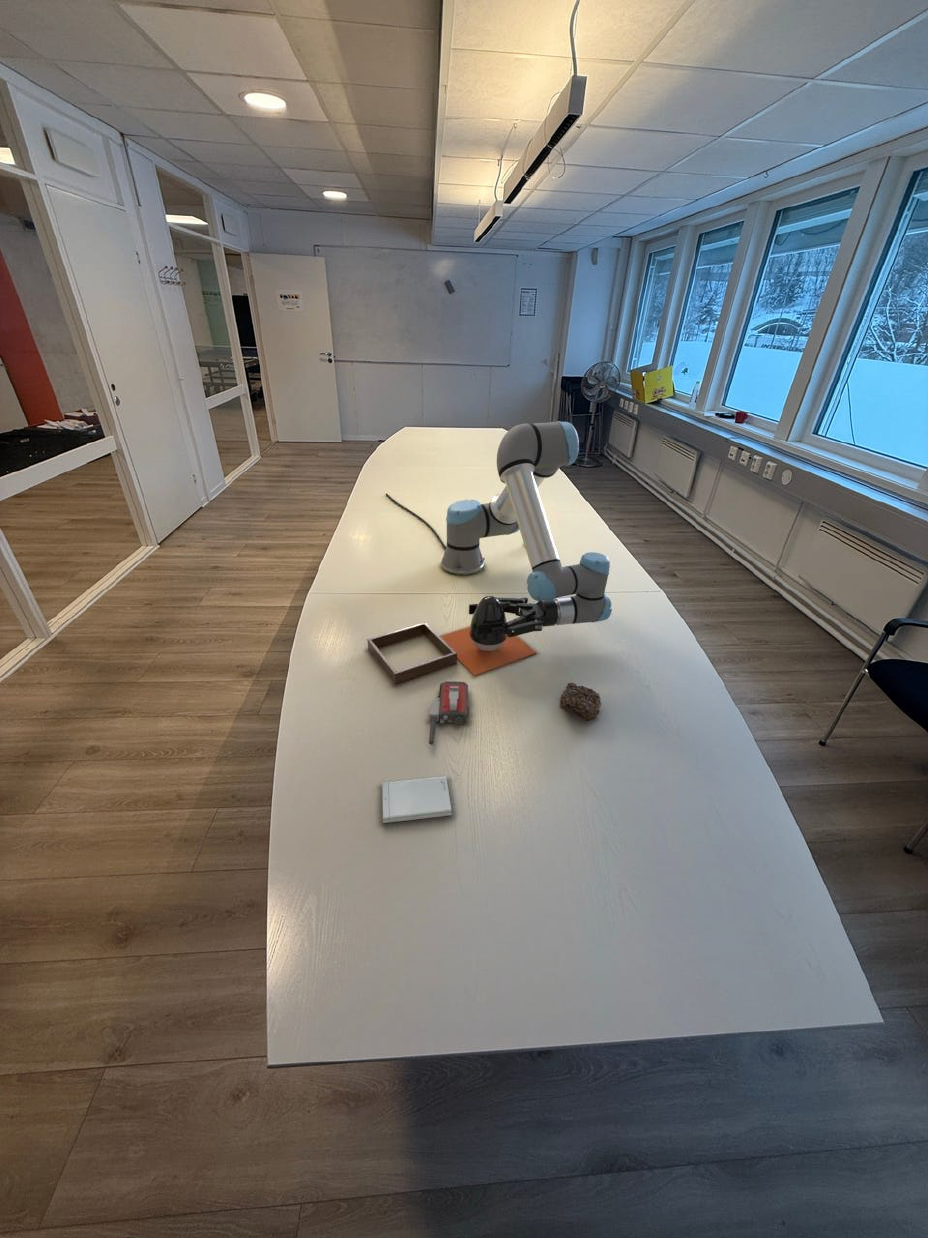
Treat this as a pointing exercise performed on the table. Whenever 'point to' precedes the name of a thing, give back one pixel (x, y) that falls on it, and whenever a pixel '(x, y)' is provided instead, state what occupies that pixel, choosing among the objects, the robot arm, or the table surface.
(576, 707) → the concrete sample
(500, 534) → the robot arm
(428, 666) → the brown wooden square frame
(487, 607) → the pump dispenser
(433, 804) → the hard drive
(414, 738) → the table surface
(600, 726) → the table surface
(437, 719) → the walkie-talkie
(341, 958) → the table surface
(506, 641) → the mat
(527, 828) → the table surface
